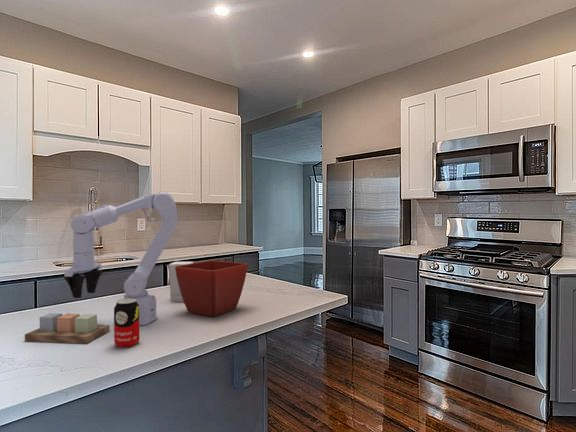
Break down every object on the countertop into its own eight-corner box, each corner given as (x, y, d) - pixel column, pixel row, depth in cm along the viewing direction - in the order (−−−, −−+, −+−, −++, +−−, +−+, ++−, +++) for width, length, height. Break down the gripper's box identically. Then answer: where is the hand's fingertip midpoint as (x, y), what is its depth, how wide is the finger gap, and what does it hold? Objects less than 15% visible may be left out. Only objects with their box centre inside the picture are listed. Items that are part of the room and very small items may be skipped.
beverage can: (111, 344, 98) (110, 300, 98) (134, 338, 102) (133, 296, 102) (119, 350, 94) (118, 305, 93) (143, 344, 98) (142, 300, 98)
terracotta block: (79, 328, 106) (79, 314, 106) (70, 333, 102) (69, 318, 102) (67, 328, 106) (67, 313, 106) (57, 332, 102) (57, 317, 102)
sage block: (97, 329, 105) (96, 314, 105) (87, 334, 101) (87, 318, 101) (84, 328, 106) (84, 314, 106) (75, 333, 102) (74, 318, 102)
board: (109, 331, 108) (109, 325, 108) (87, 343, 98) (87, 336, 98) (52, 329, 110) (52, 323, 110) (24, 341, 100) (24, 334, 100)
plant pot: (211, 301, 143) (210, 259, 143) (249, 308, 134) (249, 263, 133) (173, 313, 127) (173, 266, 127) (214, 321, 117) (213, 270, 117)
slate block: (62, 328, 107) (62, 313, 107) (52, 332, 103) (52, 317, 103) (50, 327, 107) (50, 313, 107) (39, 332, 103) (39, 317, 103)
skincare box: (195, 298, 148) (194, 261, 148) (189, 302, 141) (188, 263, 141) (175, 298, 149) (175, 261, 149) (169, 302, 142) (168, 263, 142)
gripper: (87, 249, 121) (87, 289, 121) (54, 255, 106) (55, 300, 106) (106, 250, 120) (107, 290, 120) (76, 255, 105) (77, 301, 106)
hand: (84, 295), depth 113 cm, fingers open, 6 cm apart
